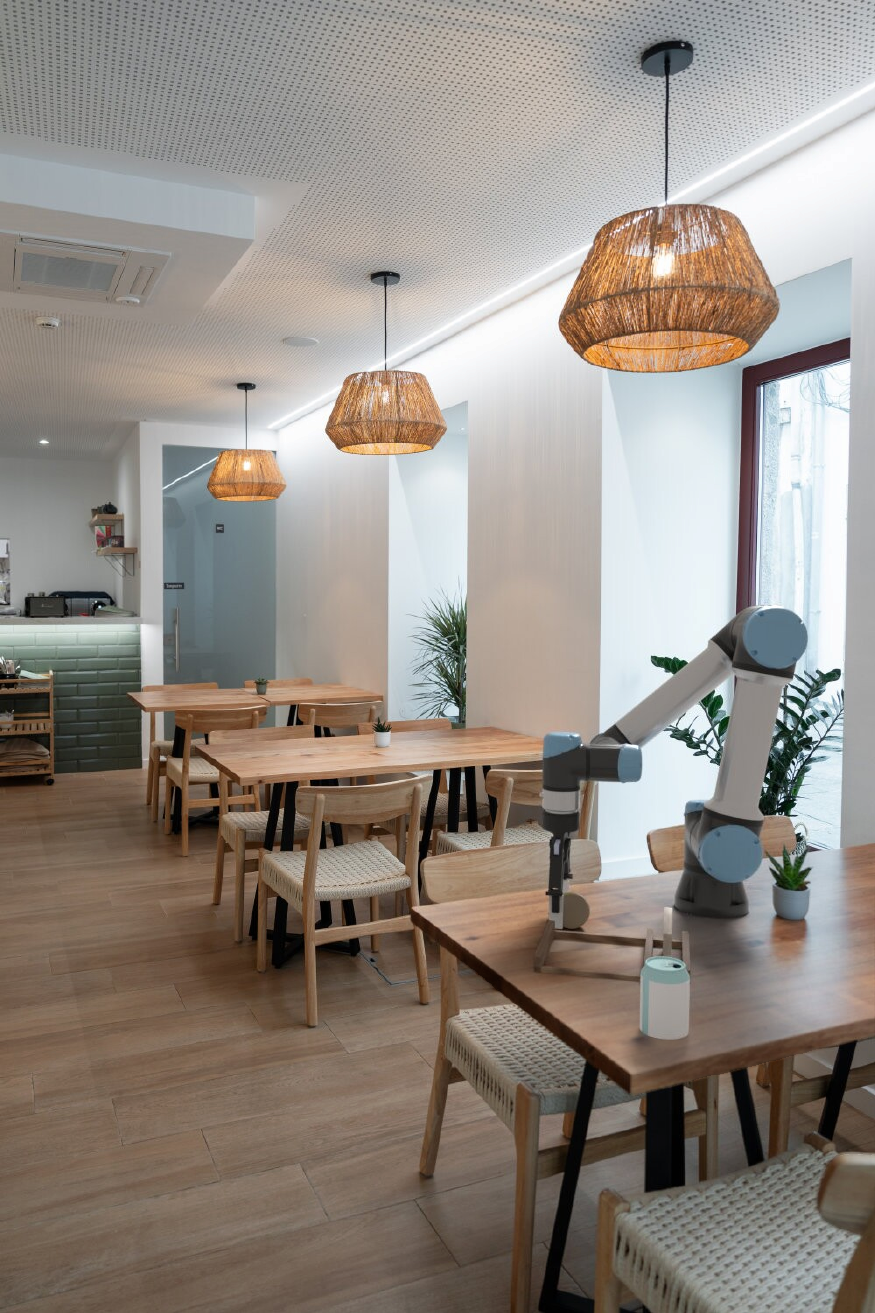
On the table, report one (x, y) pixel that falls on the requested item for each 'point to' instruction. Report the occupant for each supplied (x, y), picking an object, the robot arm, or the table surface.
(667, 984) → the can
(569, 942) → the rack
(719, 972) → the table surface
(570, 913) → the mug
